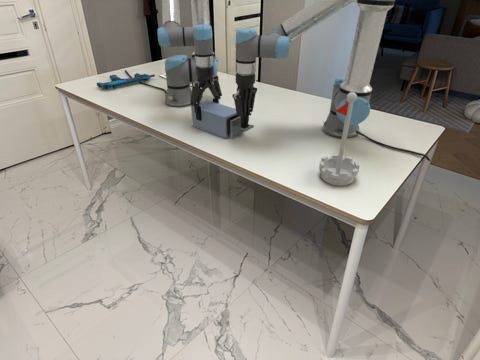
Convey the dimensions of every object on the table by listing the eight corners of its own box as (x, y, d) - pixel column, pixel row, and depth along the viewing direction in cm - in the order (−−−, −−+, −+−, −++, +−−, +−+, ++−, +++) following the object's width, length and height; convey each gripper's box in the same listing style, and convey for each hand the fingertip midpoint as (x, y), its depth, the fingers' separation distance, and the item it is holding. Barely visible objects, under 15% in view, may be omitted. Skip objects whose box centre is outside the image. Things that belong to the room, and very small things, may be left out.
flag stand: (341, 164, 125) (356, 83, 108) (364, 182, 115) (385, 96, 98) (310, 171, 121) (321, 88, 105) (331, 190, 111) (347, 102, 94)
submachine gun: (140, 68, 226) (159, 74, 209) (142, 73, 228) (160, 80, 211) (89, 77, 207) (104, 85, 190) (90, 84, 209) (106, 92, 192)
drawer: (256, 134, 144) (256, 118, 140) (242, 142, 139) (243, 124, 134) (213, 120, 158) (213, 104, 153) (200, 126, 152) (199, 110, 148)
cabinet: (241, 130, 150) (241, 110, 145) (226, 138, 143) (225, 117, 138) (208, 119, 161) (207, 99, 156) (192, 126, 154) (191, 106, 149)
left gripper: (216, 59, 150) (218, 107, 162) (177, 70, 135) (183, 121, 147) (229, 61, 146) (230, 110, 158) (190, 73, 131) (195, 126, 143)
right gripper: (248, 67, 135) (247, 122, 147) (226, 74, 126) (227, 132, 139) (263, 71, 131) (261, 127, 143) (242, 78, 122) (241, 137, 135)
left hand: (207, 116), depth 153 cm, fingers closed on cabinet, 10 cm apart
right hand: (244, 129), depth 141 cm, fingers closed
